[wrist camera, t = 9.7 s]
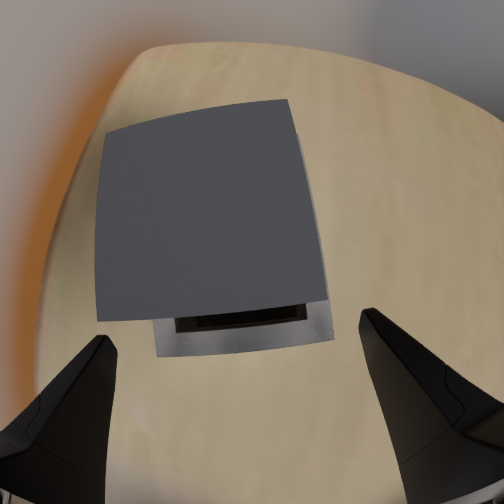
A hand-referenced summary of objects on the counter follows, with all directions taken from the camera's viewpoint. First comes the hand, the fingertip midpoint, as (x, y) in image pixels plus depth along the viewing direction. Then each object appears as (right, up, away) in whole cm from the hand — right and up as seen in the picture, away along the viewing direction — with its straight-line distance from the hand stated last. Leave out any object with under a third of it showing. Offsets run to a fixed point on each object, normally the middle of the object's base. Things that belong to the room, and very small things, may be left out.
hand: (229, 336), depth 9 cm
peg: (0, +1, +9) cm, 9 cm away
